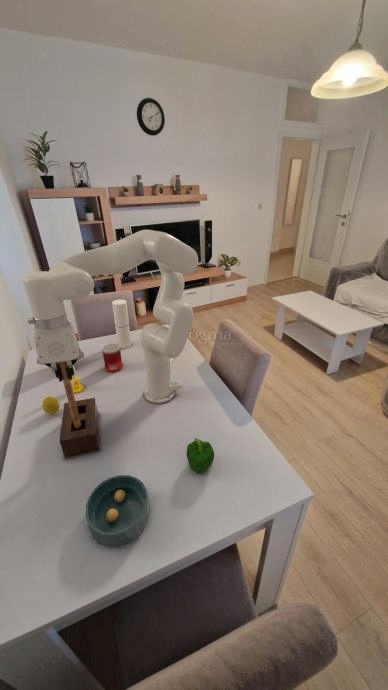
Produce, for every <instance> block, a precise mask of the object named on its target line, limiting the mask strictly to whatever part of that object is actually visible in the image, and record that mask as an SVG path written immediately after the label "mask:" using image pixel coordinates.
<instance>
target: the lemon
mask: <svg viewBox="0 0 388 690" xmlns="http://www.w3.org/2000/svg"><path fill="white" fill-rule="evenodd" d="M41 407H42V410H43V412H44V413H45V414H47V415H54V414H56V413H57V412H59V409H60V402H59V400H58V399H57V398H56V397H55V396H53V395H52V396H51V395H49V396H47V397H45V398H44V399H43V401H42V404H41Z"/></svg>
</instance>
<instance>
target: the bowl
mask: <svg viewBox="0 0 388 690" xmlns="http://www.w3.org/2000/svg"><path fill="white" fill-rule="evenodd" d="M117 490H123V491H124V492H125V494H126V496H125V499H124V500H123V501H122V502H117V501H116V500H115V499H114V495H115V492H116V491H117ZM148 494H149V493H148V490H147V488H146V486H145V485H144V482H143V481H141V480H140V479H138V477H135V476H132V475H129V474H119V475H115V476H111V477H109V478H107V479H105V480H103V481H101V483H99V484H98V485H97V486H96V487H95V488H94V489H93V490H92V491H91V494H90V495H89V496H88V499H87V502H86V504H85V519H86V522H87V526H88V529H89V531H90V534H91V536H92V538H93V539H94V540H95V541H96V542H97V544H99V545H102V546H104V547H106V548H118V547H122V546H124V545H128V544H129V543H130V542H132V541H133V540H135V539H137V537H139V535H140V534H141V533H142V532H143V530H144V529H145V527H146V525H147V522H148V520H149V516H150V502H149V495H148ZM110 509H116V510H117V511H118V518H117V520H116V521H114V522H109V521H107V519H106V514H107V512H108V511H109V510H110Z"/></svg>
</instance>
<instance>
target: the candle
mask: <svg viewBox="0 0 388 690" xmlns="http://www.w3.org/2000/svg"><path fill="white" fill-rule="evenodd" d="M73 369H74V375H73V376H72V380H71V383H72V388H73V393H74V394H76V393H81V392H82V391H83V390H84V388H85V387H84V385H83V384H81V383H80V382H79V380H80V379H81V377H80V376H78V375H77V372H76V368H75V364H74V365H73Z"/></svg>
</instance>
